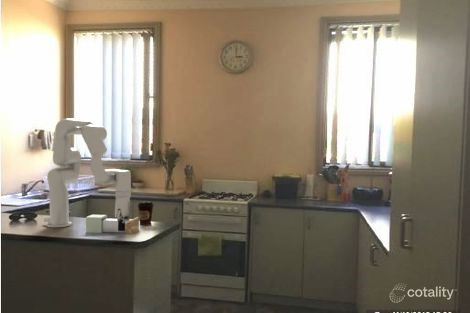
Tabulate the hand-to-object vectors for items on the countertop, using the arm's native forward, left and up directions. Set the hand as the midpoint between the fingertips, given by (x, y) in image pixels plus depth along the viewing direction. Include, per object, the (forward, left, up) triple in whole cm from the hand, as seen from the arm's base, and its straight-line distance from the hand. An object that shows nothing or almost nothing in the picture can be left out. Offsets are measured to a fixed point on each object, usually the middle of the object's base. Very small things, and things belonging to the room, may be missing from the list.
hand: (123, 229), depth 216 cm
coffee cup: (+6, +18, -2) cm, 19 cm away
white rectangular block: (-3, 0, -1) cm, 4 cm away
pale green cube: (-14, 0, -1) cm, 14 cm away
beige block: (+5, 0, -1) cm, 5 cm away
